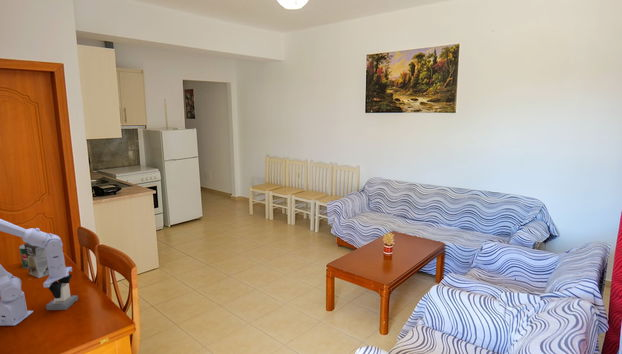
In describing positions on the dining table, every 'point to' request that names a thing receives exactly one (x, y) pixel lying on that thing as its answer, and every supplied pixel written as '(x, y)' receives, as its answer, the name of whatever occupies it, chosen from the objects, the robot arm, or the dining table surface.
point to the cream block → (64, 292)
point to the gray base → (62, 303)
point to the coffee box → (36, 260)
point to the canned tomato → (23, 256)
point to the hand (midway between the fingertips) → (61, 295)
